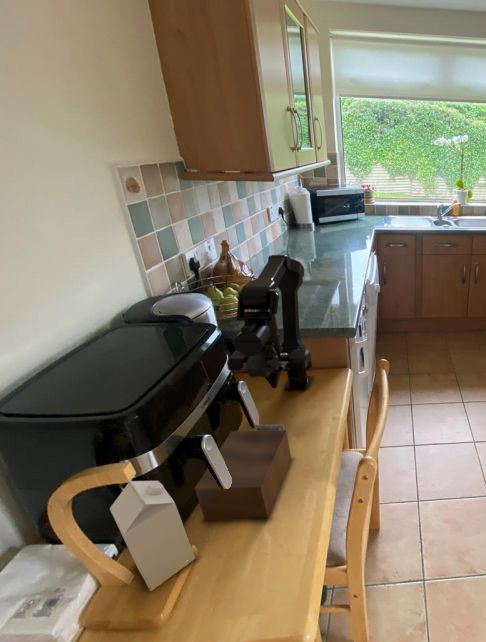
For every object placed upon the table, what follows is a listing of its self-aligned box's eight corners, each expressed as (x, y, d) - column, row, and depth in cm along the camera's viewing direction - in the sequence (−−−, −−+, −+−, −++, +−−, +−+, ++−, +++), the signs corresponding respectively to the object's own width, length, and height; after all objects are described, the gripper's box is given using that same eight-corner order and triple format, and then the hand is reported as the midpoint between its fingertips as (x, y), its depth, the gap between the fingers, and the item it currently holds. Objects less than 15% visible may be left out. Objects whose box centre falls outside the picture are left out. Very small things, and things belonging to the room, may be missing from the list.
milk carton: (151, 592, 63) (115, 516, 56) (136, 566, 67) (101, 491, 60) (195, 559, 69) (168, 485, 61) (179, 536, 72) (152, 463, 65)
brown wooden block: (238, 460, 90) (231, 431, 86) (291, 459, 90) (286, 430, 87) (205, 520, 76) (194, 488, 72) (268, 519, 76) (260, 487, 72)
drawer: (250, 439, 95) (245, 417, 92) (295, 439, 95) (292, 416, 92) (212, 507, 77) (204, 481, 74) (268, 506, 78) (262, 480, 75)
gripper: (208, 351, 82) (223, 408, 88) (294, 351, 83) (302, 407, 89) (231, 328, 92) (243, 380, 99) (307, 328, 93) (314, 380, 99)
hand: (275, 387), depth 96 cm, fingers closed
